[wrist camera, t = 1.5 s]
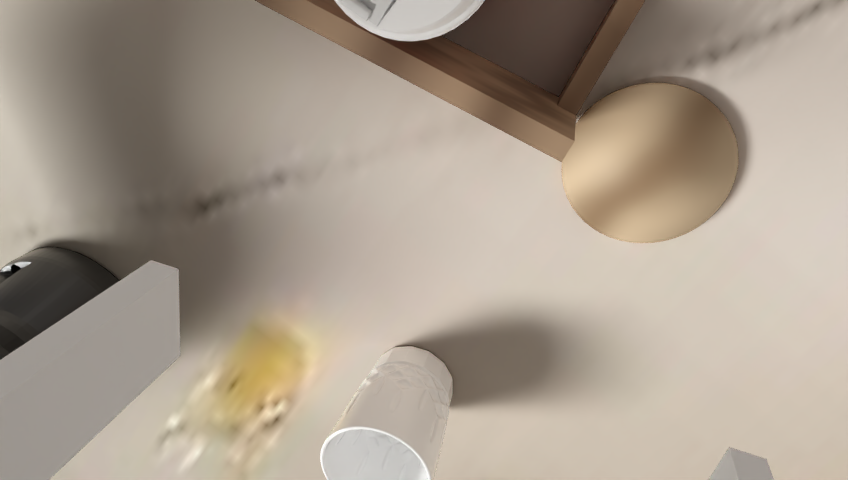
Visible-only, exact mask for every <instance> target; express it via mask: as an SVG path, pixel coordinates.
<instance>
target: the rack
mask: <svg viewBox="0 0 848 480" xmlns="http://www.w3.org/2000/svg"><path fill="white" fill-rule="evenodd" d="M255 1H257V2H259V3H261V4H263V5H264V6H266V7H268V8H270V9H272V10H274V11H276V12H278V13H280V14H282V15H283V16H285V17H287V18H289V19H291V20H293V21H295V22H297V23H299V24H301V25H302V26H304V27H306V28H308V29H310V30H312V31H314V32H316V33H318V34H319V35H321V36H323V37H325V38H327V39H329V40H331V41H333V42H335V43H337V44H338V45H340V46H342V47H344V48H346V49H348V50H350V51H352V52H354V53H356V54H357V55H359V56H361V57H363V58H365V59H367V60H369V61H371V62H373V63H375V64H376V65H378V66H380V67H382V68H384V69H386V70H388V71H390V72H392V73H394V74H395V75H397V76H399V77H401V78H403V79H405V80H407V81H409V82H411V83H412V84H414V85H416V86H418V87H420V88H422V89H424V90H426V91H428V92H430V93H431V94H433V95H435V96H437V97H439V98H441V99H443V100H445V101H447V102H449V103H450V104H452V105H454V106H456V107H458V108H460V109H462V110H464V111H466V112H468V113H469V114H471V115H473V116H475V117H477V118H479V119H481V120H483V121H485V122H487V123H488V124H490V125H492V126H494V127H496V128H498V129H500V130H502V131H504V132H505V133H507V134H509V135H511V136H513V137H515V138H517V139H519V140H521V141H523V142H524V143H526V144H528V145H530V146H532V147H534V148H536V149H538V150H540V151H542V152H543V153H545V154H547V155H549V156H551V157H553V158H555V159H557V160H559V161H561V162H562V161H563V159H564V158H565V156H566V154H567V153H568V151H569V149H570V148H571V146H572V145H573V143H574V141H575V124H576V115H577V113H578V111H579V110H580V108H581V106H582V105H583V103H584V101H585V100H586V98H587V96H588V95H589V93H590V91H591V90H592V88H593V86H594V85H595V83H596V81H597V80H598V78H599V76H600V75H601V73H602V71H603V70H604V68H605V66H606V65H607V63H608V61H609V60H610V58H611V56H612V55H613V53H614V51H615V50H616V48H617V46H618V45H619V43H620V41H621V40H622V38H623V36H624V35H625V33H626V31H627V30H628V28H629V26H630V25H631V23H632V22H633V20H634V18H635V17H636V15H637V13H638V12H639V10H640V8H641V7H642V5H643V3H644V2H645V0H615V1H614V3H613V4H612V6H611V8H610V10H609V11H608V13H607V15H606V17H605V18H604V20H603V22H602V24H601V25H600V27H599V29H598V31H597V32H596V34H595V36H594V37H593V39H592V41H591V43H590V44H589V46H588V48H587V50H586V51H585V53H584V55H583V57H582V58H581V60H580V62H579V64H578V65H577V67H576V69H575V71H574V72H573V74H572V76H571V77H570V79H569V81H568V83H567V84H566V86H565V88H564V90H563V91H562V93H561V95H560V97H557V96H555V95H553V94H551V93H549V92H548V91H546V90H544V89H542V88H540V87H538V86H536V85H534V84H532V83H530V82H528V81H527V80H525V79H523V78H521V77H519V76H517V75H515V74H513V73H511V72H509V71H507V70H506V69H504V68H502V67H500V66H498V65H496V64H494V63H492V62H490V61H488V60H486V59H485V58H483V57H481V56H479V55H477V54H475V53H473V52H471V51H469V50H467V49H465V48H464V47H462V46H460V45H458V44H456V43H454V42H452V41H450V40H448V39H446V38H444V37H443V36H437V37H434V38H431V39H427V40H419V41H398V40H393V39H389V38H384V37H382V36H379V35H377V34H374V33H372V32H370V31H368V30H367V29H365V28H363V27H362V26H360V25H358V24H357V23H356V22H355V21H353V20H352V19H351V18H350V17H349V16H348V15H346V14H345V12H344V11H343V10H342V9H341V8H340V7H339V6H338V4H337V3H336V2H335V1H334V0H255Z"/></svg>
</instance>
